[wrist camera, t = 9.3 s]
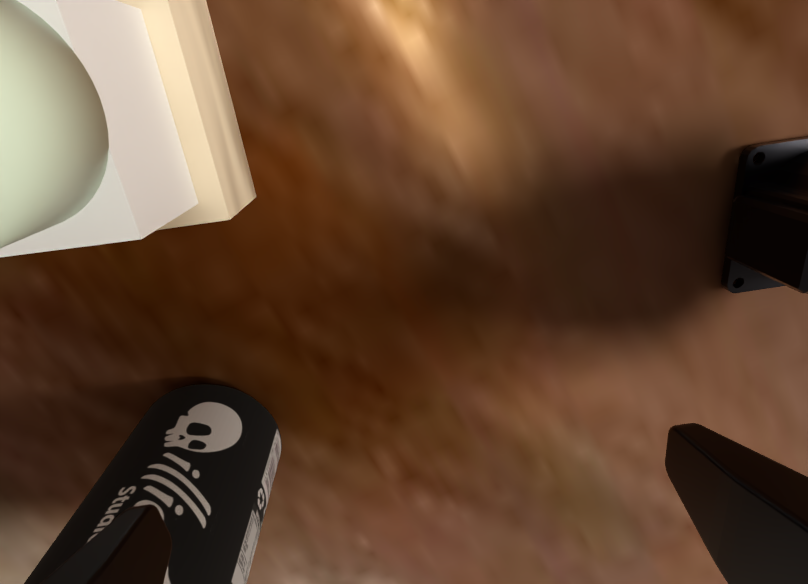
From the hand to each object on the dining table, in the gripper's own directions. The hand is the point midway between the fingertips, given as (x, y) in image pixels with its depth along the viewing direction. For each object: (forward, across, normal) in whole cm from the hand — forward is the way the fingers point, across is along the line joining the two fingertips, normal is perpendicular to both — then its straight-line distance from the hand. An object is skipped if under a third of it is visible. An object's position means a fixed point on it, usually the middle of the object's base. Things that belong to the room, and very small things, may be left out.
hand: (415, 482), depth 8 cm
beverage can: (+13, +10, +8) cm, 18 cm away
